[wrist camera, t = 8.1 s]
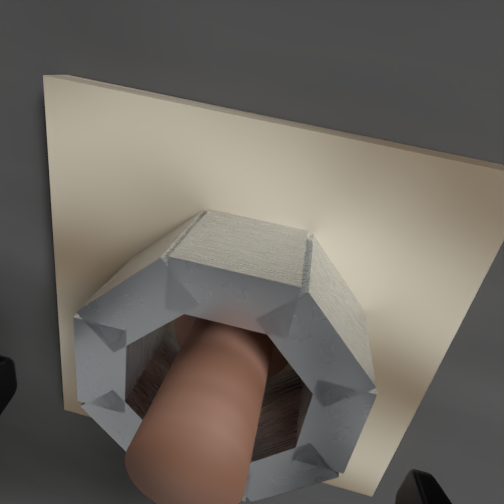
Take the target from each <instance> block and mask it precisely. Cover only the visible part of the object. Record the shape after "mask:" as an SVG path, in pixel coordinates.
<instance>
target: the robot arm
mask: <svg viewBox="0 0 504 504" xmlns="http://www.w3.org/2000/svg"><path fill="white" fill-rule="evenodd" d="M16 388H17V379H16V371H15V364H14V361H13V360H12V359H11V358H8V357H4V356H1V355H0V415H1V413H2V412H3V410H4V409H5V407H6V406H7V404H8V403H9V401H10V400H11V398H12V397H13V395H14V394H15V391H16ZM395 504H452V503H451V501H450V500H449V498H448V497H447V496H446V494H445V493H444V491H443V490H442V488H441V487H440V485H439V484H438V482H437V481H436V479H435V478H434V477H433V476H432V475H431V474H429V473H427V472H423V471H419V470H416V469H411V470H409V472H408V473H407V475H406V477H405V479H404V480H403V482H402V484H401V486H400V488H399V489H398V491H397V494H396V501H395Z"/></svg>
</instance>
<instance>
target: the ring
mask: <svg viewBox="0 0 504 504" xmlns="http://www.w3.org/2000/svg"><path fill="white" fill-rule="evenodd" d="M307 234H308V231H307V230H303V229H298V228H294V227H289V226H285V225H280V224H276V223H271V222H267V221H262V220H258V219H253V218H249V217H244V216H240V215H235V214H231V213H226V212H222V211H217V210H213V209H209V210H208V211H207V212H206V213H205V212H204V210H202V211H201V212H199V213H198V214H196V215H195V216H193V217H192V218H190V219H189V220H187V221H186V222H184V223H183V224H181V225H180V226H178V227H177V228H175V229H174V230H172V231H171V232H169V233H168V234H166V235H165V236H163V237H162V238H160V239H159V240H157V241H156V242H154V243H153V244H151V245H150V246H148V247H147V248H145V249H144V250H142V251H141V252H139V253H138V254H137V255H135V256H134V257H133V258H132V259H131V260H130V261H129V262H128V263H126V264H125V265H124V266H123V267H122V268H121V269H120V270H119V271H118V272H117V273H116V274H115V275H114V276H113V277H112V278H111V279H110V280H109V281H108V282H107V283H106V284H105V285H104V286H102V287H101V288H100V289H99V290H98V291H97V292H96V293H95V294H94V295H93V296H92V297H91V298H90V299H89V300H88V301H87V302H86V303H85V304H84V305H83V306H82V307H81V308H80V309H78V310H77V311H76V313H77V314H76V315H75V316H74V317H73V322H74V342H75V361H76V381H77V401H80V402H83V403H82V404H81V407H82V408H83V409H84V410H85V411H86V412H87V413H88V414H89V415H90V416H91V417H92V418H93V419H94V420H95V421H96V422H97V423H98V424H99V425H100V426H101V427H102V428H103V429H104V430H105V431H106V432H107V433H108V434H109V435H110V436H111V437H112V438H113V439H114V440H115V441H116V442H117V443H118V444H119V445H120V446H121V447H122V448H123V449H124V450H125V451H127V449H128V447H129V445H130V443H131V441H132V439H133V437H134V435H135V434H136V432H137V430H138V428H139V426H140V424H141V422H142V420H143V418H144V417H145V415H146V413H147V411H148V409H149V407H150V405H151V403H152V401H153V400H154V398H155V396H156V394H157V392H158V390H159V388H160V386H161V384H162V383H163V381H164V379H165V377H166V375H167V373H168V371H169V369H170V367H171V366H172V364H173V362H174V360H175V358H176V356H177V354H178V352H179V350H180V349H181V348H180V346H179V344H178V341H177V340H176V339H175V338H174V337H173V336H172V334H171V333H170V332H169V331H168V328H169V322H170V321H172V320H174V319H176V318H178V317H180V316H181V315H183V314H186V315H190V316H195V317H199V318H203V319H207V320H211V321H215V322H219V323H223V324H227V325H231V326H235V327H239V328H243V329H247V330H251V331H255V332H259V333H263V334H267V335H268V336H269V338H270V339H271V340H272V342H273V343H274V344H275V345H276V347H277V348H278V349H279V351H280V352H281V353H282V355H283V356H284V357H285V358H286V360H287V361H288V362H289V364H290V365H291V366H292V367H293V369H291V370H288V371H286V372H284V373H281V374H279V375H276V376H274V377H272V378H269V379H267V381H266V386H265V391H264V396H263V401H262V406H261V411H260V416H259V422H258V427H257V432H256V437H255V442H254V447H253V452H252V457H251V462H250V467H249V472H248V477H247V483H246V488H245V493H244V496H243V498H242V500H241V501H245V500H246V496H247V497H248V499H249V500H250V501H251V502H253V501H256V500H260V499H263V498H267V497H270V496H274V495H278V494H281V493H285V492H288V491H292V490H295V489H299V488H302V487H306V486H310V485H313V484H317V483H320V482H324V481H327V480H331V479H335V478H338V477H339V473H343V474H344V472H345V469H346V467H347V465H348V462H349V460H350V458H351V455H352V453H353V451H354V448H355V446H356V444H357V441H358V439H359V437H360V434H361V432H362V430H363V427H364V425H365V423H366V420H367V418H368V416H369V413H370V411H371V408H372V406H373V404H374V401H375V399H376V397H377V389H376V381H375V375H374V368H373V362H372V356H371V349H370V343H369V336H368V330H367V323H366V317H365V310H364V309H363V307H362V306H361V304H360V303H359V301H358V300H357V298H356V297H355V295H354V294H353V292H352V291H351V289H350V288H349V286H348V285H347V283H346V282H345V280H344V279H343V278H342V276H341V275H340V273H339V272H338V270H337V269H336V267H335V266H334V264H333V263H332V261H331V260H330V258H329V257H328V255H327V254H326V252H325V251H324V249H323V248H322V246H321V245H320V243H319V242H318V240H317V239H316V237H315V236H314V235H312V236H310V237H308V238H307Z"/></svg>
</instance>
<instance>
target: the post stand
mask: <svg viewBox="0 0 504 504" xmlns="http://www.w3.org/2000/svg"><path fill="white" fill-rule="evenodd" d="M43 82H44V98H45V114H46V129H47V145H48V161H49V177H50V192H51V208H52V224H53V240H54V256H55V271H56V287H57V303H58V319H59V334H60V350H61V366H62V382H63V398H64V410H67V411H70V412H74V413H77V414H81V415H85V416H88V417H91V416H90V415H89V414H88V413H87V412H86V411H85V410H84V409H83V408H82V407H81V404H82V403H83V402H80V401H77V381H76V361H75V342H74V322H73V317H74V316H75V315H76V314H77V313H76V311H77V310H78V309H80V308H81V307H82V306H83V305H84V304H85V303H86V302H87V301H88V300H89V299H90V298H91V297H92V296H93V295H94V294H95V293H96V292H97V291H98V290H99V289H100V288H101V287H102V286H104V285H105V284H106V283H107V282H108V281H109V280H110V279H111V278H112V277H113V276H114V275H115V274H116V273H117V272H118V271H119V270H120V269H121V268H122V267H123V266H124V265H125V264H126V263H128V262H129V261H130V260H131V259H132V258H133V257H134V256H135V255H137V254H138V253H139V252H141V251H142V250H144V249H145V248H147V247H148V246H150V245H151V244H153V243H154V242H156V241H157V240H159V239H160V238H162V237H163V236H165V235H166V234H168V233H169V232H171V231H172V230H174V229H175V228H177V227H178V226H180V225H181V224H183V223H184V222H186V221H187V220H189V219H190V218H192V217H193V216H195V215H196V214H198V213H199V212H201V211H202V210H204V212H205V213H206V212H207V211H208V210H209V209H213V210H217V211H222V212H226V213H231V214H235V215H240V216H244V217H249V218H253V219H258V220H262V221H267V222H271V223H276V224H280V225H285V226H289V227H294V228H298V229H303V230H307V231H308V234H307V238H308V237H310V236H312V235H314V236H315V237H316V239H317V240H318V242H319V243H320V245H321V246H322V248H323V249H324V251H325V252H326V254H327V255H328V257H329V258H330V260H331V261H332V263H333V264H334V266H335V267H336V269H337V270H338V272H339V273H340V275H341V276H342V278H343V279H344V280H345V282H346V283H347V285H348V286H349V288H350V289H351V291H352V292H353V294H354V295H355V297H356V298H357V300H358V301H359V303H360V304H361V306H362V307H363V309H364V310H365V317H366V323H367V330H368V336H369V343H370V349H371V356H372V362H373V368H374V375H375V381H376V389H377V397H376V399H375V401H374V404H373V406H372V408H371V411H370V413H369V416H368V418H367V420H366V423H365V425H364V427H363V430H362V432H361V434H360V437H359V439H358V441H357V444H356V446H355V448H354V451H353V453H352V455H351V458H350V460H349V462H348V465H347V467H346V469H345V472H344V474H343V473H339V477H338V478H335V479H331V480H327V481H324V482H322V483H326V484H329V485H333V486H336V487H340V488H343V489H347V490H350V491H354V492H358V493H361V494H365V495H368V496H373V494H374V492H375V490H376V488H377V486H378V484H379V482H380V480H381V478H382V476H383V474H384V472H385V470H386V468H387V466H388V464H389V463H390V461H391V459H392V457H393V455H394V453H395V451H396V449H397V447H398V445H399V443H400V441H401V439H402V437H403V435H404V433H405V431H406V429H407V427H408V426H409V424H410V422H411V420H412V418H413V416H414V414H415V412H416V410H417V408H418V406H419V404H420V402H421V400H422V398H423V396H424V394H425V392H426V390H427V389H428V387H429V385H430V383H431V381H432V379H433V377H434V375H435V373H436V371H437V369H438V367H439V365H440V363H441V361H442V359H443V357H444V355H445V353H446V351H447V350H448V348H449V346H450V344H451V342H452V340H453V338H454V336H455V334H456V332H457V330H458V328H459V326H460V324H461V322H462V320H463V318H464V316H465V314H466V313H467V311H468V309H469V307H470V305H471V303H472V301H473V299H474V297H475V295H476V293H477V291H478V289H479V287H480V285H481V283H482V281H483V279H484V277H485V276H486V274H487V272H488V270H489V268H490V266H491V264H492V262H493V260H494V258H495V256H496V254H497V252H498V250H499V248H500V246H501V244H502V242H503V240H504V165H502V164H497V163H492V162H487V161H483V160H478V159H473V158H468V157H463V156H458V155H454V154H449V153H444V152H439V151H434V150H429V149H424V148H420V147H415V146H410V145H405V144H400V143H395V142H390V141H386V140H381V139H376V138H371V137H366V136H361V135H356V134H352V133H347V132H342V131H337V130H332V129H327V128H323V127H318V126H313V125H308V124H303V123H298V122H293V121H289V120H284V119H279V118H274V117H269V116H264V115H259V114H255V113H250V112H245V111H240V110H235V109H230V108H226V107H221V106H216V105H211V104H206V103H201V102H196V101H192V100H187V99H182V98H177V97H172V96H167V95H162V94H158V93H153V92H148V91H143V90H138V89H133V88H129V87H124V86H119V85H114V84H109V83H104V82H99V81H95V80H90V79H85V78H80V77H75V76H70V75H43ZM168 331H169V332H170V333H171V334H172V336H173V337H174V338H175V339H176V340H177V341H178V344H179V346H180V348H181V349H180V350H179V352H178V354H177V356H176V358H175V360H174V362H173V364H172V366H171V367H170V369H169V371H168V373H167V375H166V377H165V379H164V381H163V383H162V384H161V386H160V388H159V390H158V392H157V394H156V396H155V398H154V400H153V401H152V403H151V405H150V407H149V409H148V411H147V413H146V415H145V417H144V418H143V420H142V422H141V424H140V426H139V428H138V430H137V432H136V434H135V435H134V437H133V439H132V441H131V443H130V445H129V447H128V449H127V451H126V454H125V467H126V471H127V473H128V476H129V477H130V479H131V481H132V482H133V483H134V485H135V486H136V487H137V488H138V489H139V490H140V491H141V492H142V493H143V494H144V495H145V496H146V497H148V498H149V499H150V500H152V501H154V502H155V503H157V504H239V503H240V502H241V500H242V498H243V496H244V493H245V488H246V483H247V477H248V472H249V467H250V462H251V457H252V452H253V447H254V442H255V437H256V432H257V427H258V422H259V416H260V411H261V406H262V401H263V396H264V391H265V386H266V381H267V379H269V378H272V377H274V376H276V375H279V374H281V373H284V372H286V371H288V370H291V369H293V367H292V366H291V365H290V364H289V362H288V361H287V360H286V358H285V357H284V356H283V355H282V353H281V352H280V351H279V349H278V348H277V347H276V345H275V344H274V343H273V342H272V340H271V339H270V338H269V336H268V335H267V334H263V333H259V332H255V331H251V330H247V329H243V328H239V327H235V326H231V325H227V324H223V323H219V322H215V321H211V320H207V319H203V318H199V317H195V316H190V315H186V314H183V315H181V316H180V317H178V318H176V319H174V320H172V321H170V322H169V328H168Z"/></svg>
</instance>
